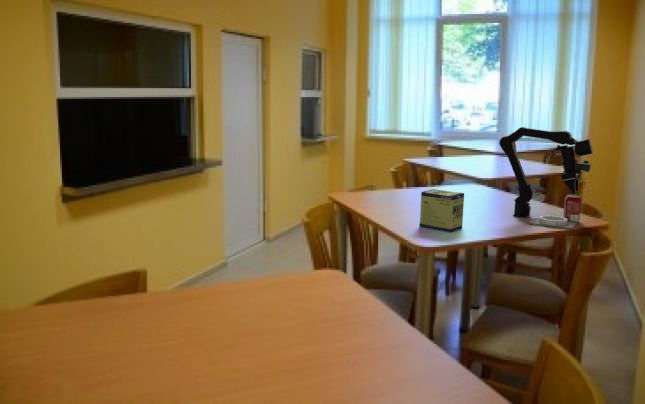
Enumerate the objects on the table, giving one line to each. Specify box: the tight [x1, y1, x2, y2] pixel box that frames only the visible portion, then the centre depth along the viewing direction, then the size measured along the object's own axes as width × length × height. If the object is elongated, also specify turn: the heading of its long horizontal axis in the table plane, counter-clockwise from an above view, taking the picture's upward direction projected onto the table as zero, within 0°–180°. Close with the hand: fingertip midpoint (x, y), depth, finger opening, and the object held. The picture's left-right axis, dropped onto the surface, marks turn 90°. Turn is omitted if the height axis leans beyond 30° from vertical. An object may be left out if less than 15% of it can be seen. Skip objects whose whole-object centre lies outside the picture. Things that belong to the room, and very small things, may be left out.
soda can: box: [562, 194, 582, 223], centre depth 267 cm, size 7×7×12 cm
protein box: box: [419, 189, 465, 233], centre depth 251 cm, size 10×16×16 cm
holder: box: [528, 215, 578, 231], centre depth 261 cm, size 18×12×3 cm, turn 59°
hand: (575, 192), depth 265 cm, fingers open, 9 cm apart
